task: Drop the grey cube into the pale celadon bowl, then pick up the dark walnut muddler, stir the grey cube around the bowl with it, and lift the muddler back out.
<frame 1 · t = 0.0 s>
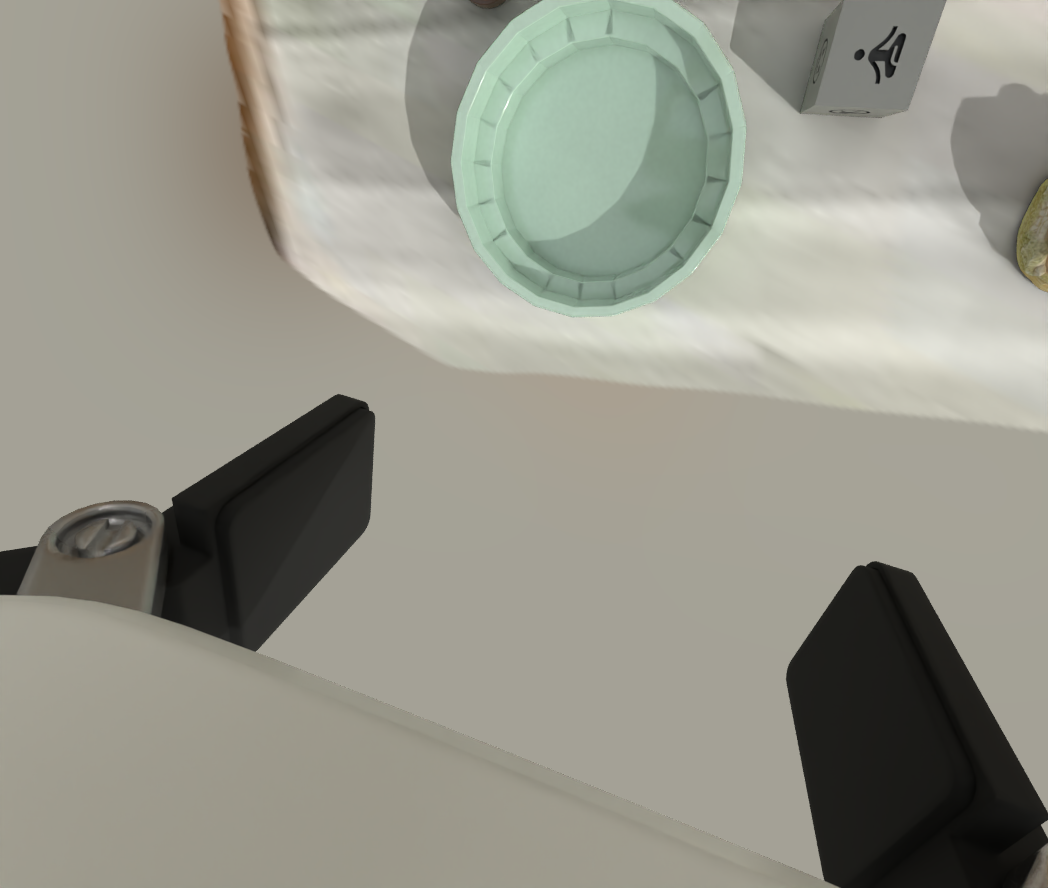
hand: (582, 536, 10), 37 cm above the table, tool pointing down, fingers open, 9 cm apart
bowl: (600, 171, 40), on the table
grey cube: (852, 70, 34), on the table
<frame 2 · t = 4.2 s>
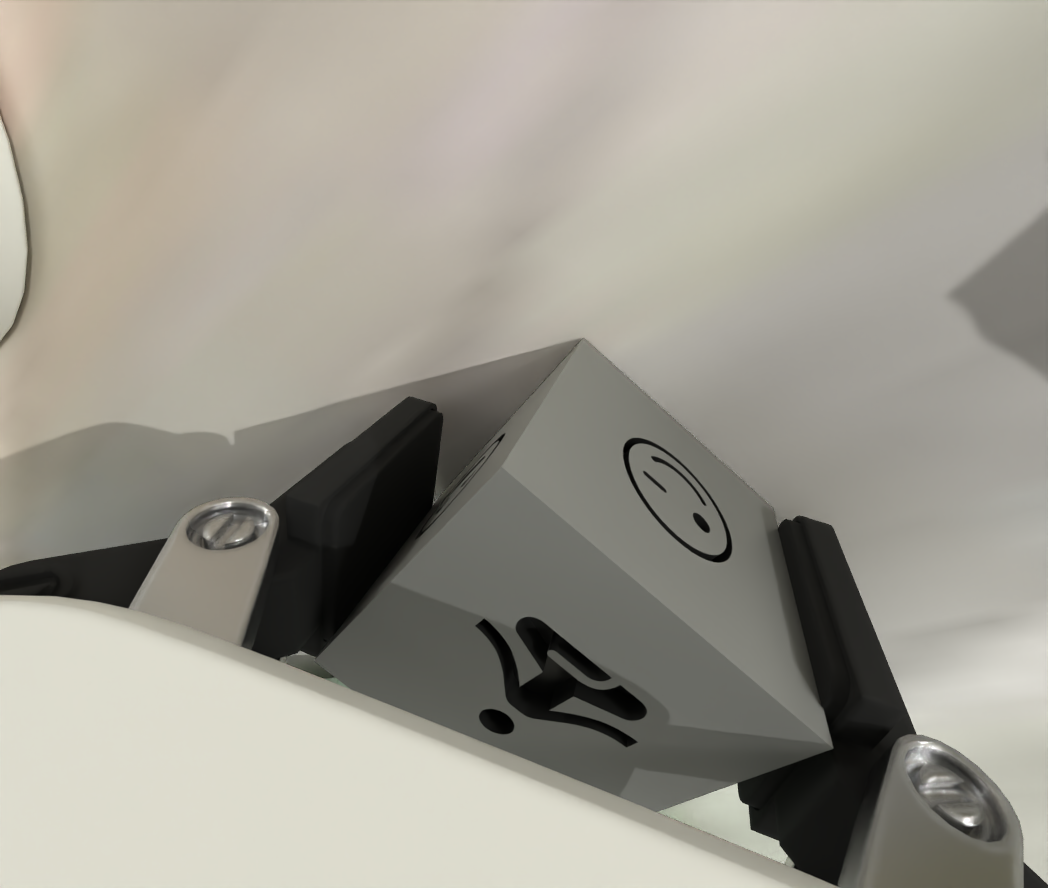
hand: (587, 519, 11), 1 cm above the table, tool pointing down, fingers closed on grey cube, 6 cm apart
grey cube: (595, 494, 11), on the table, touching gripper
when the fingers open (5 cm above the table, at t = 10.4 s): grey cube drops 3 cm, resting on bowl.
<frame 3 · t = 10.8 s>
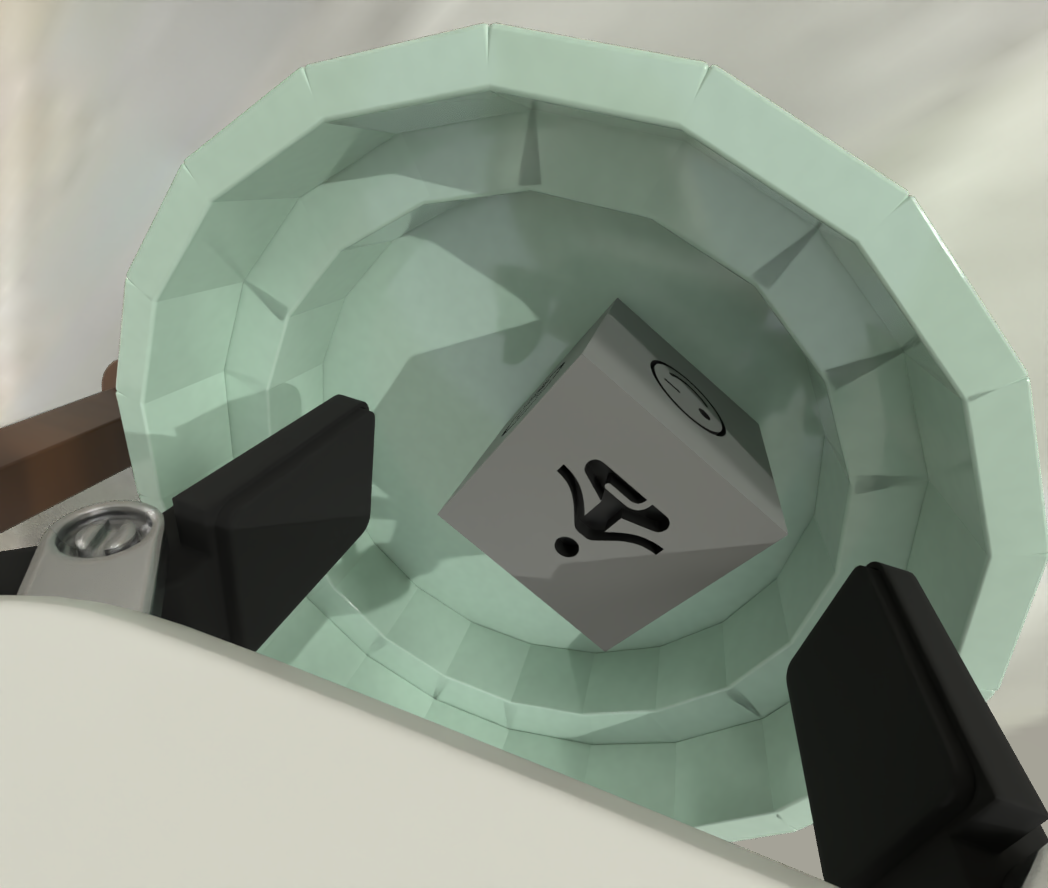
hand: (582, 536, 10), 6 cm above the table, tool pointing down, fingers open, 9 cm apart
bowl: (548, 454, 17), on the table
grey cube: (624, 421, 15), point 1 cm above the table, touching bowl
muddler: (171, 404, 21), on the table
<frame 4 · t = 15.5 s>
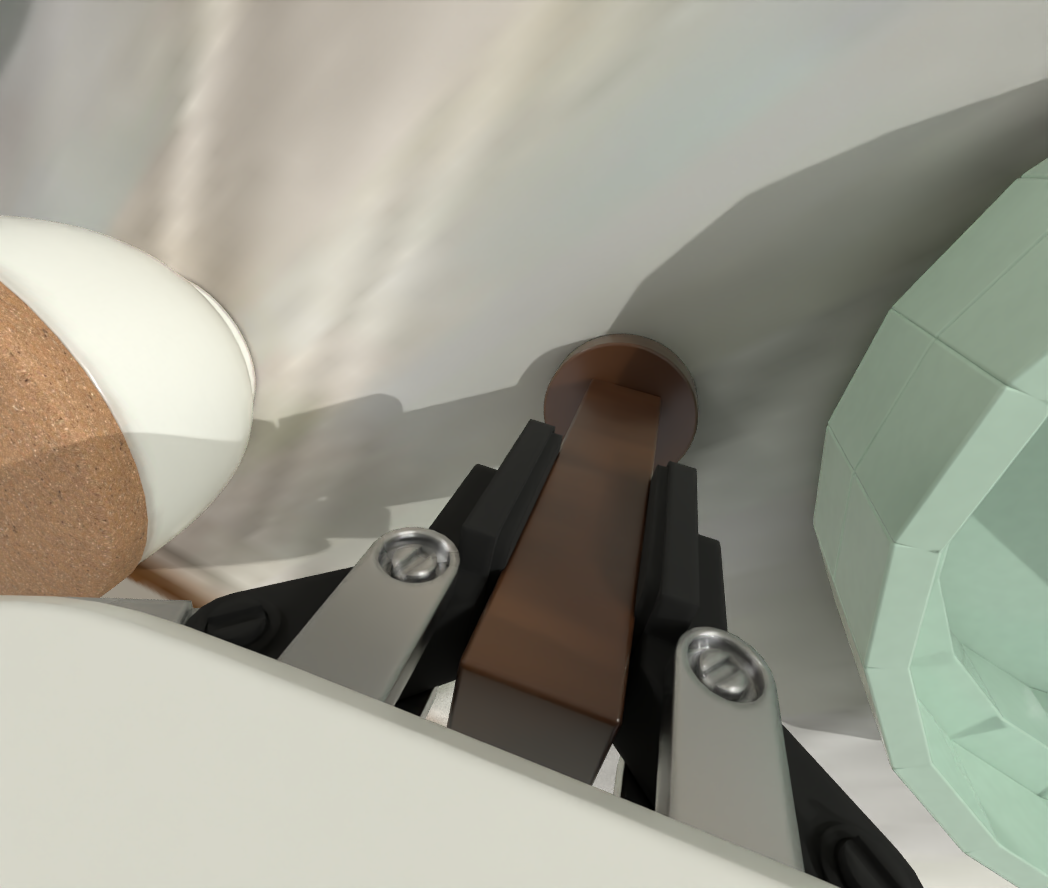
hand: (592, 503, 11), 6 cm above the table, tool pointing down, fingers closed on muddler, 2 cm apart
trinket box: (190, 353, 20), on the table
muddler: (621, 404, 16), on the table, touching gripper
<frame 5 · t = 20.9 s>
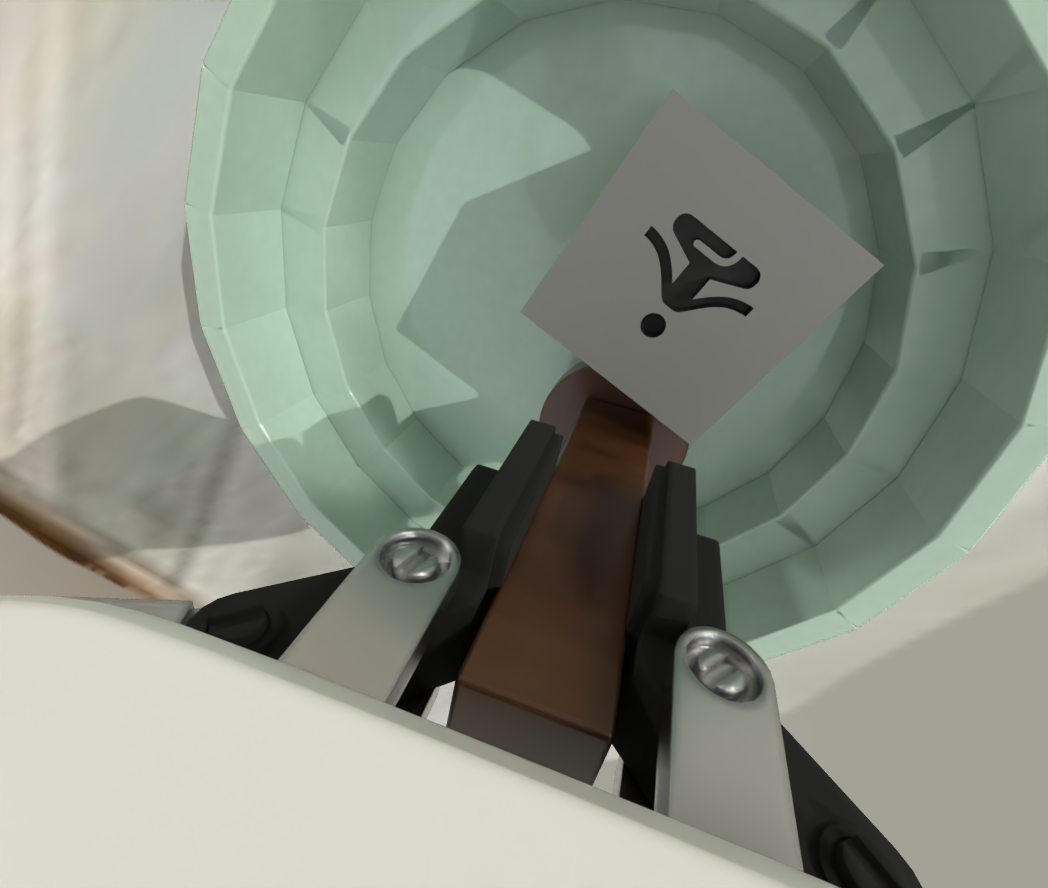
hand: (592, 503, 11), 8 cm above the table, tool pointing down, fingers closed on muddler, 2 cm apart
bowl: (594, 309, 17), on the table
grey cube: (684, 255, 15), point 1 cm above the table
muddler: (614, 423, 16), point 2 cm above the table, touching gripper
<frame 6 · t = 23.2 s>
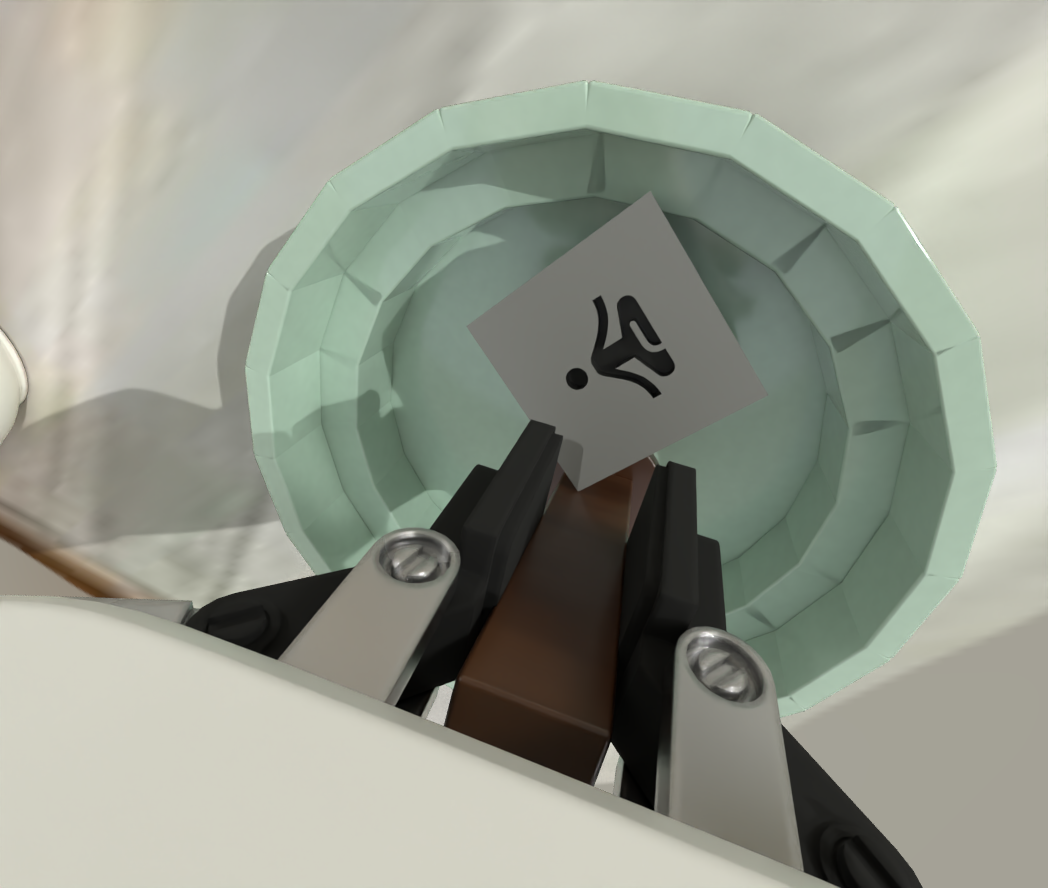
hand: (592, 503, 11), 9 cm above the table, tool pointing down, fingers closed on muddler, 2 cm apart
bowl: (589, 417, 20), on the table
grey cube: (627, 324, 17), point 1 cm above the table, touching bowl, muddler
muddler: (594, 489, 17), point 4 cm above the table, tilted 14°, touching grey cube, gripper
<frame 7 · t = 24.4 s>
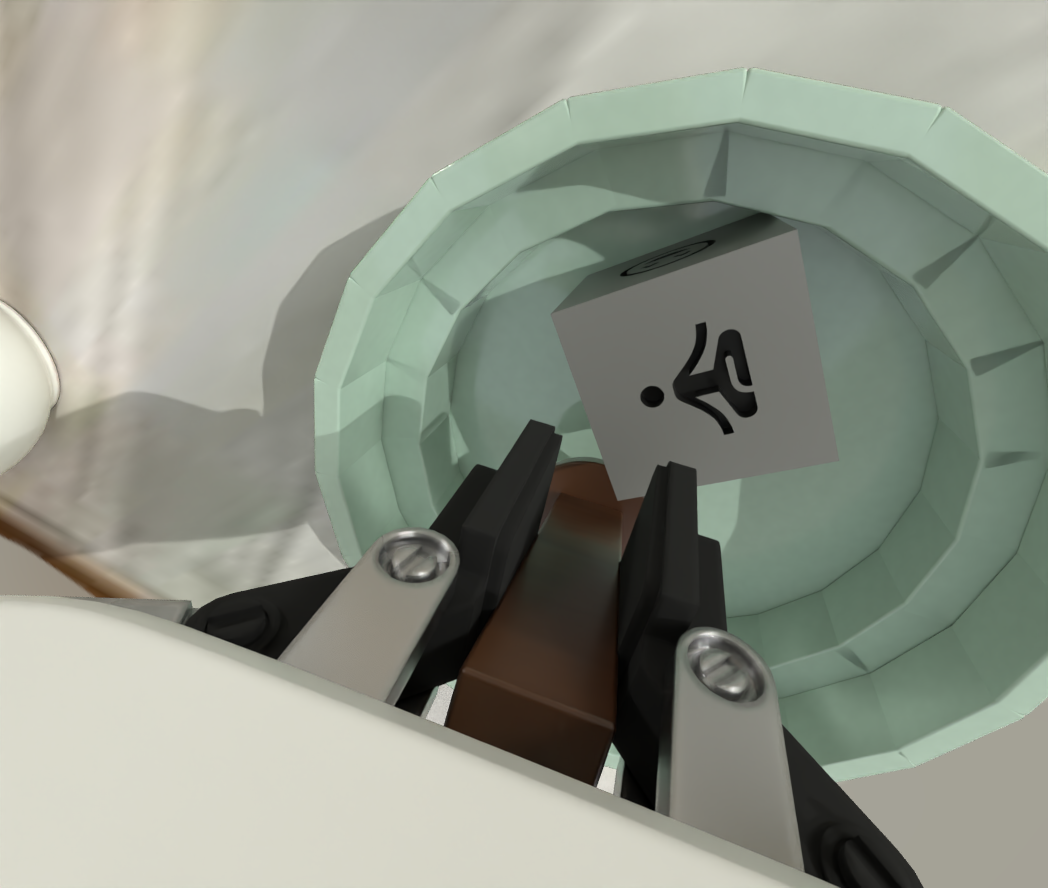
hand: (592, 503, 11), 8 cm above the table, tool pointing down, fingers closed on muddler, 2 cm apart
bowl: (663, 437, 19), on the table
trinket box: (12, 353, 26), on the table
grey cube: (691, 326, 16), point 1 cm above the table, touching bowl
muddler: (584, 522, 17), point 3 cm above the table, tilted 20°, touching gripper
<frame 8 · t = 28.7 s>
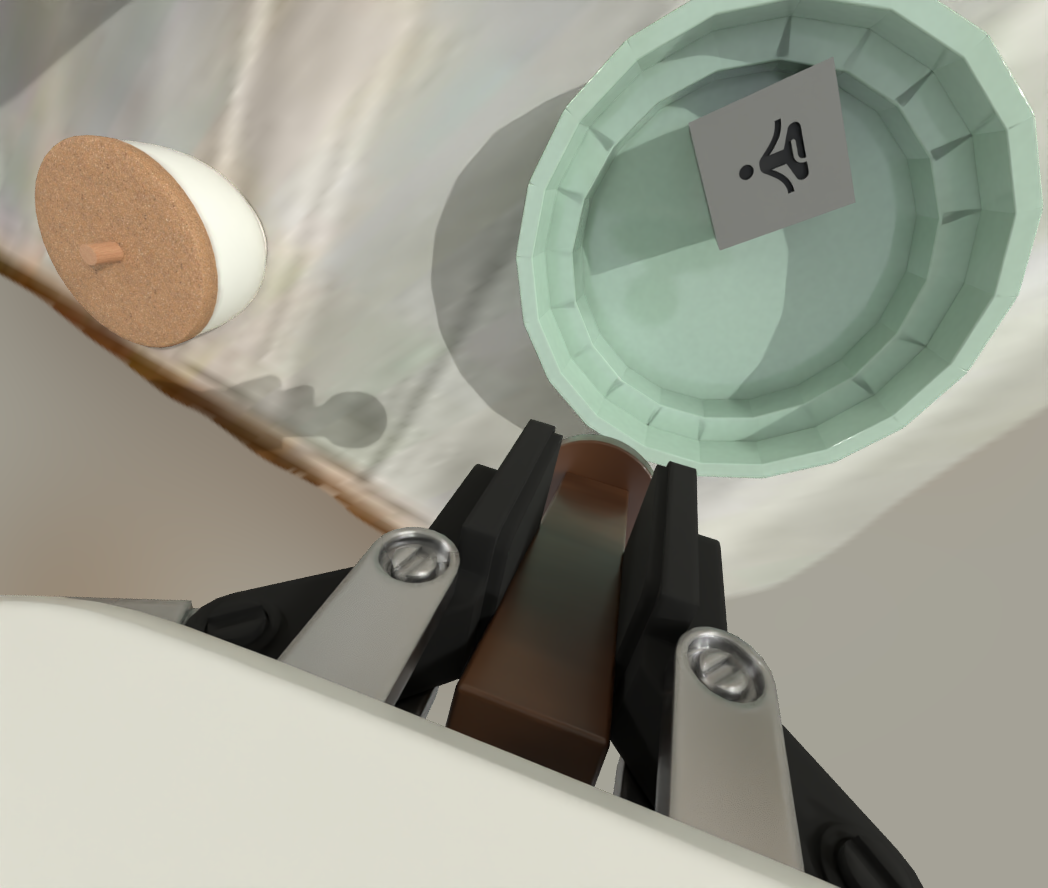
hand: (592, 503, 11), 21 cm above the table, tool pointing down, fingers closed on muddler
bowl: (731, 255, 27), on the table
trinket box: (229, 235, 35), on the table
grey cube: (756, 164, 25), point 1 cm above the table, touching bowl
muddler: (591, 499, 17), point 16 cm above the table, tilted 14°, touching gripper
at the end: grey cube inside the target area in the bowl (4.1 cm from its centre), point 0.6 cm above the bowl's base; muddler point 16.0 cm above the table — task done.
